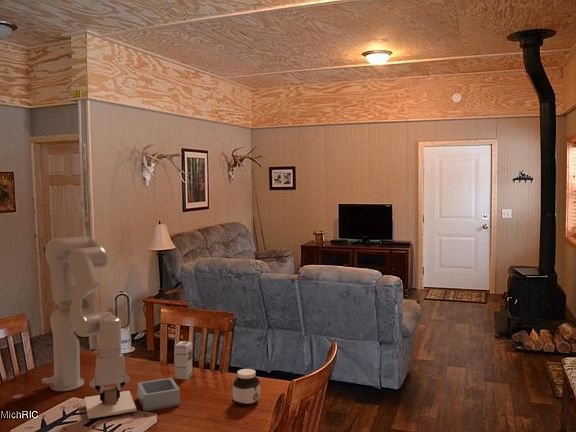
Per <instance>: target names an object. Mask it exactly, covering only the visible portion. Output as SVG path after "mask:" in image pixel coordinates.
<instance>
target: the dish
mask: <svg viewBox="0 0 576 432" xmlns="http://www.w3.org/2000/svg"><path fill="white" fill-rule="evenodd" d="M137 400H138V402H139V404H140V406H141V409H142V410H143V412H144V411H145V412H150V411H155V410H162V409H168V408H173V407H179V406H181V389H180V388H179V385H178V384H177V383H176V381H175V380H174V379H173V377H168V378H161V379H160V378H159V379H153V380H147V381H141V382H140V381H139V382H137Z"/></svg>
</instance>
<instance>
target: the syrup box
mask: <svg viewBox="0 0 576 432" xmlns="http://www.w3.org/2000/svg"><path fill="white" fill-rule="evenodd" d="M193 362H194V361H193V342H192V341H188V340H186V341H185V340H183V341H182V340H180V341H179V342H177V343H176V344H175V345H174V372H175V373H174V375H175V376H174V378H175V379H176V380H177V379H178V380H189V378H191V377H192V376H193V375H194V368H193V365H194V364H193Z"/></svg>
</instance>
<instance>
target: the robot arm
mask: <svg viewBox="0 0 576 432" xmlns="http://www.w3.org/2000/svg"><path fill="white" fill-rule="evenodd" d="M44 252H45V259H46V262H47V264H48V267H49V270H50V279H51V282H50V283H51V292H52V299H53V302H54V303H55V304H56V305H60V306H62V305H63V306H64V305H70V306H68V307H67V306H66V307H61V308H59V309H56V310H53V312H52V313H51V315H50V318H49V321H50V326H51V333H52V341H53V374H52V375H53V376H50V377H45V378H44V377H43V378H41V384H45V385H49V387H50V390H52V391H55V392H68V391H74V390H76V389H79V388H82V386H84V384H85V379H83V378H81V363H80V361H81V360H80V356H81V355H80V340H79V338H78V337H77V336H79V337H81V338H86V337H90V336H94V335H98V348H97V349H95V350H93V351H94V354H95V355H96V359H95V367H94V376H93V377H92V378H91V380H90V382H89V387H91V388H94V390H96V391H98V392H99V395H100V401H102V403H103V404H104V403H105V393H104V388H105V386H110V385H116V386H115V388H116V390H117V401H118V398H120V392H121V390H122V388H123V387H124V386H125V385H126V384H128V383H129V382H130V381H131V378H130V376H129V374H127V372H126V366H125V357H124V354H123V352H122V334H121V333H122V320H121V319H120V318H119V317H118V316H114V314H113V313H111V312H110V311H102V312H97V304H96V292H95V291H96V290H98V289H99V288H100V286H101V282H100V279H99V276H98V272H97V269H101V268H104V267H106V266H107V265H108V261H109V256H108V253H107V251H106V249H105V248H104V247H103V246H102V245H101V244H100V243H99V242H98V241H96V240H95V239H94V238H91V236H84V235H83V236H73V237H72V236H71V237H69V236H68V237H67V236H66V237H59V238H54V239H51V240H49V241H48V242H47V243H46V246H45V251H44ZM74 332H75V333H74ZM75 334H76V335H75Z"/></svg>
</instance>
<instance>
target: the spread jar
mask: <svg viewBox="0 0 576 432" xmlns="http://www.w3.org/2000/svg"><path fill="white" fill-rule="evenodd" d="M256 373H257V372H256V370H255V369H252V368H242V369H239V370H237V372H236V374H237V375H236V376H237V377H235V379H234V380H233V382H232V383H233V384H232V400H233V401H234V402H235V403H236V404H238V405H239V406H243V407H250V406H253V405H255V404H256V403H257V402H258V401H259V399H260V397H261V381H260V379H259V378H258V377H257V375H256Z"/></svg>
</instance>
